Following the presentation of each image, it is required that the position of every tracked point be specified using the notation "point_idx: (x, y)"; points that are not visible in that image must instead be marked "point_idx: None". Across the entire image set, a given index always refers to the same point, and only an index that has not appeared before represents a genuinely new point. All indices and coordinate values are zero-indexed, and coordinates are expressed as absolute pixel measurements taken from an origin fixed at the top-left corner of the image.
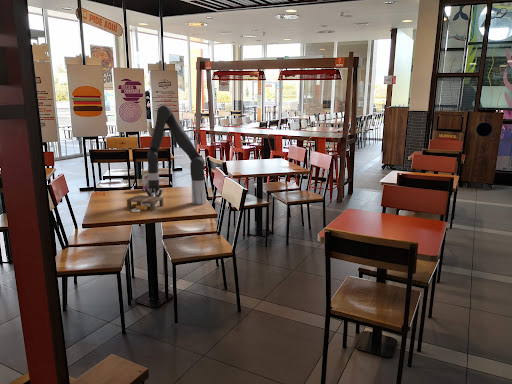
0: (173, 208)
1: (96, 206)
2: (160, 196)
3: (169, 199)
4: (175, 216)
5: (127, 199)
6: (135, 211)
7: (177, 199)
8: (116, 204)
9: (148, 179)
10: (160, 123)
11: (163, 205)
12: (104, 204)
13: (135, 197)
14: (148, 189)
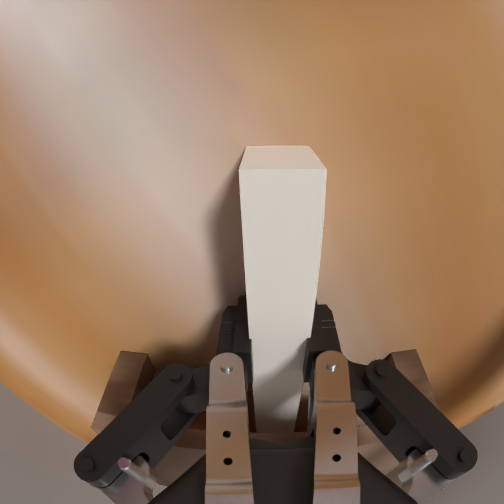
0: (483, 362)
1: (30, 401)
2: (324, 208)
3: (405, 43)
4: (472, 420)
5: (162, 484)
6: None
7: (496, 43)
8: (44, 379)
9: None
10: None
11: (416, 351)
12: (14, 378)
13: (161, 471)
14: (151, 492)
